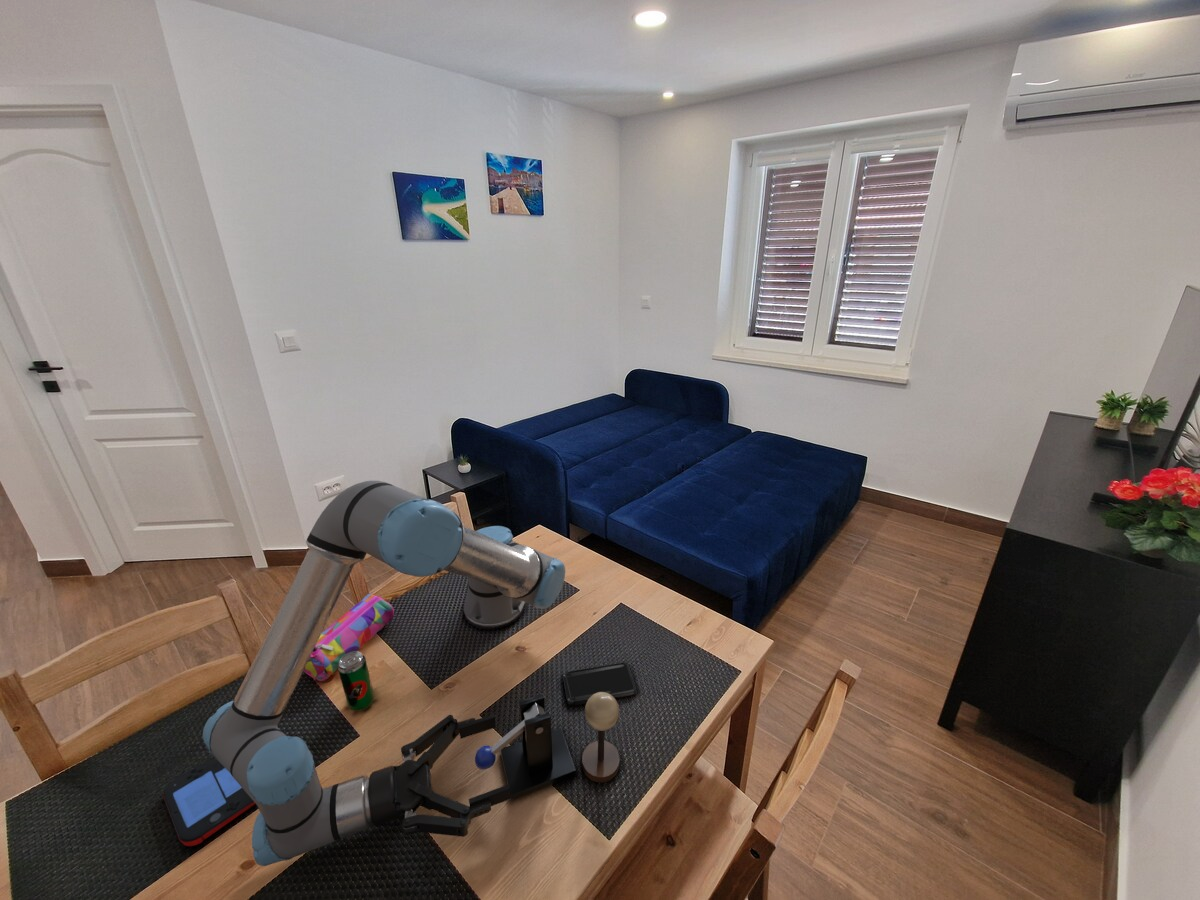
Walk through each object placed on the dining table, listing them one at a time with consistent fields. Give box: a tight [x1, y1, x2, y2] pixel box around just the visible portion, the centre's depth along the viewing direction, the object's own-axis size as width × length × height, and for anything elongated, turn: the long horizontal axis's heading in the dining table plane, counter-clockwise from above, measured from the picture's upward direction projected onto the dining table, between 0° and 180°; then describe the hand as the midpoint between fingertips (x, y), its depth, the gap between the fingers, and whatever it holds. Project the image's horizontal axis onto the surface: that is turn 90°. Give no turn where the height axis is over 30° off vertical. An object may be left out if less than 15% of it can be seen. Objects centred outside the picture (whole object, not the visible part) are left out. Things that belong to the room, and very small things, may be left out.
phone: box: [562, 662, 637, 707], centre depth 106 cm, size 8×1×15 cm
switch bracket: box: [500, 693, 577, 801], centre depth 87 cm, size 12×9×15 cm
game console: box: [162, 756, 256, 847], centre depth 84 cm, size 14×13×2 cm
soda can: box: [337, 650, 375, 712], centre depth 99 cm, size 5×5×12 cm
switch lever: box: [474, 703, 546, 771], centre depth 84 cm, size 14×4×4 cm
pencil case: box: [303, 593, 395, 682], centre depth 112 cm, size 22×9×9 cm, turn 160°
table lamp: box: [581, 692, 621, 784], centre depth 87 cm, size 7×7×17 cm
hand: (502, 753), depth 85 cm, fingers open, 13 cm apart
